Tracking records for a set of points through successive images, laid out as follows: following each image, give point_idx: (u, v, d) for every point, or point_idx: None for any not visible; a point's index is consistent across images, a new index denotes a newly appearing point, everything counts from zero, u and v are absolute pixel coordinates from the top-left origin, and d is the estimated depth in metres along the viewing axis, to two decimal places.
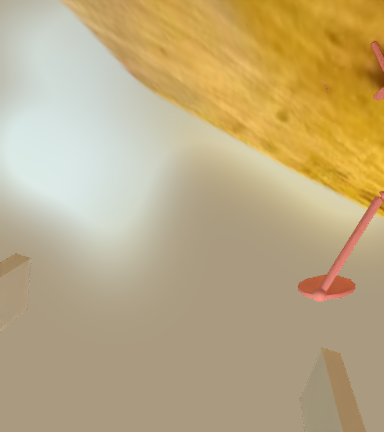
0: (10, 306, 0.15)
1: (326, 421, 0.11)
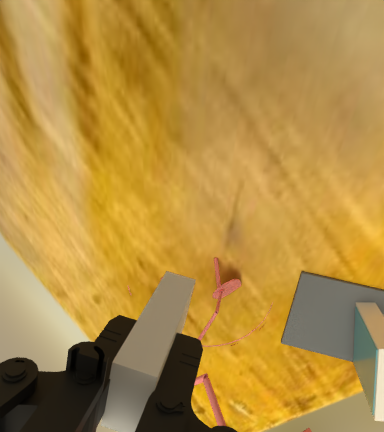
0: None
1: None
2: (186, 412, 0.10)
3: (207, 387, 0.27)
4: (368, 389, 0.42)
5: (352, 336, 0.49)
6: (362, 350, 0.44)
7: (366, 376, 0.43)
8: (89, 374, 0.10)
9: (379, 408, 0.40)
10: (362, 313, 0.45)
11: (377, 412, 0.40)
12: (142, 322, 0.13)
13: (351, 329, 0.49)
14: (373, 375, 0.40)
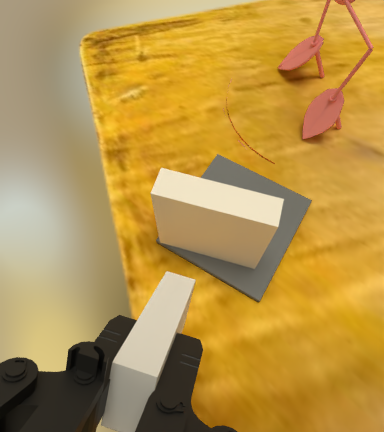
0: None
1: None
2: (186, 412, 0.10)
3: None
4: None
5: None
6: None
7: None
8: (89, 374, 0.10)
9: (181, 177, 0.27)
10: None
11: (174, 173, 0.27)
12: (142, 322, 0.13)
13: None
14: None
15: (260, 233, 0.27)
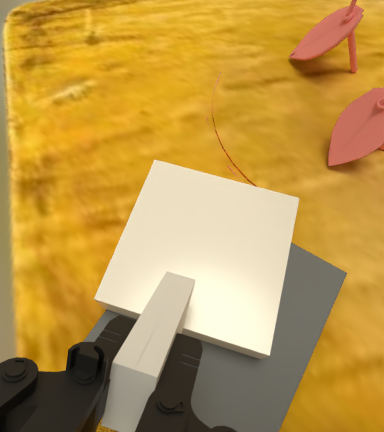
0: None
1: None
2: (186, 412, 0.10)
3: None
4: None
5: None
6: None
7: None
8: (89, 374, 0.10)
9: None
10: None
11: None
12: (142, 322, 0.13)
13: None
14: None
15: (279, 217, 0.22)
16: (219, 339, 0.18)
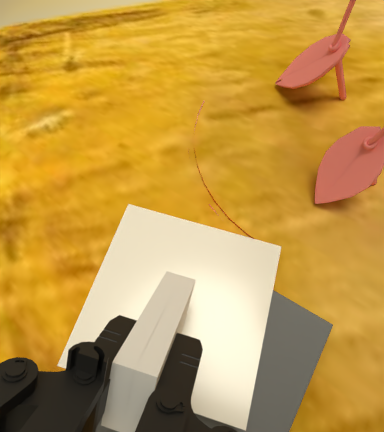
0: None
1: None
2: (186, 412, 0.10)
3: None
4: None
5: None
6: None
7: None
8: (89, 374, 0.10)
9: None
10: None
11: None
12: (142, 322, 0.13)
13: None
14: None
15: (260, 269, 0.20)
16: None
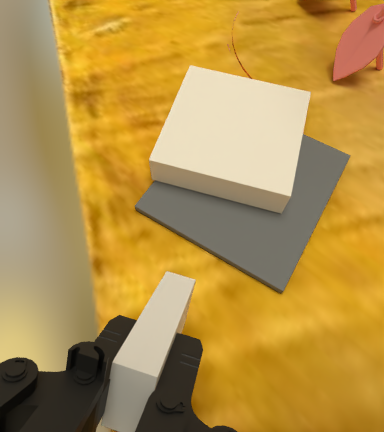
0: None
1: None
2: (186, 412, 0.10)
3: None
4: None
5: None
6: None
7: None
8: (89, 374, 0.10)
9: None
10: None
11: None
12: (142, 322, 0.13)
13: None
14: None
15: (295, 105, 0.26)
16: (250, 186, 0.23)
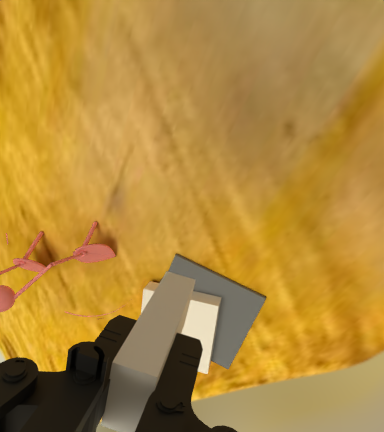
0: None
1: None
2: (186, 412, 0.10)
3: None
4: None
5: None
6: None
7: None
8: (89, 374, 0.10)
9: None
10: (200, 293, 0.45)
11: None
12: (142, 322, 0.13)
13: None
14: None
15: None
16: (215, 324, 0.43)
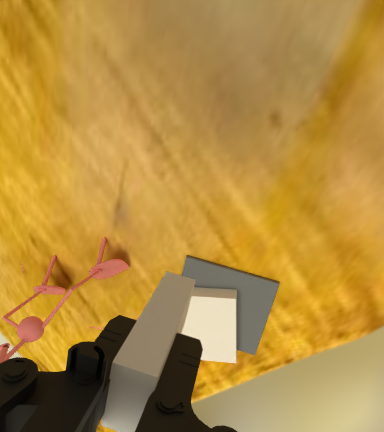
0: None
1: None
2: (186, 412, 0.10)
3: None
4: None
5: None
6: None
7: None
8: (89, 374, 0.10)
9: None
10: (216, 288, 0.47)
11: None
12: (142, 322, 0.13)
13: None
14: None
15: None
16: (235, 316, 0.45)
